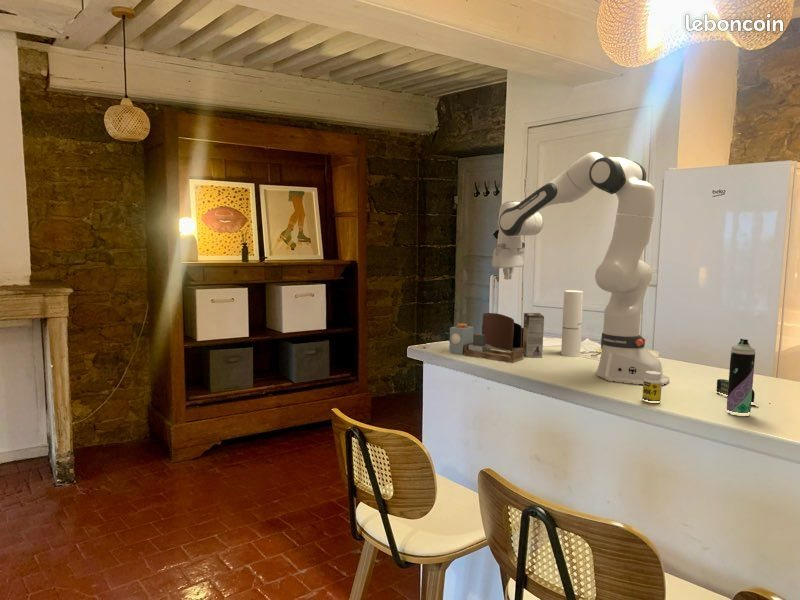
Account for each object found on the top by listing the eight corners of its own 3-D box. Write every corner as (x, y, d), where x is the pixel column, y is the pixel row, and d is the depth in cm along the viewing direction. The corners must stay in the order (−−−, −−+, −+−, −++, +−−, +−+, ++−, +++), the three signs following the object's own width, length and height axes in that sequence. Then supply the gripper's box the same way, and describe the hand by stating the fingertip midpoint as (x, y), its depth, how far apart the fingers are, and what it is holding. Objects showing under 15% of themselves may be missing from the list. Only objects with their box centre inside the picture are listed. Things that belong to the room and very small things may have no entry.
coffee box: (521, 352, 233) (523, 312, 232) (538, 353, 233) (539, 312, 231) (526, 357, 224) (527, 315, 222) (543, 357, 224) (545, 316, 222)
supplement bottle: (639, 401, 166) (641, 372, 165) (645, 398, 169) (646, 369, 168) (657, 405, 163) (659, 375, 162) (662, 401, 166) (664, 372, 165)
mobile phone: (715, 378, 176) (752, 389, 161) (724, 377, 176) (762, 389, 162) (714, 394, 176) (751, 407, 162) (723, 394, 177) (761, 407, 162)
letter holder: (511, 352, 236) (512, 317, 234) (480, 343, 253) (481, 311, 251) (530, 349, 241) (531, 315, 239) (498, 342, 258) (500, 309, 256)
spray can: (727, 415, 154) (733, 339, 152) (724, 409, 159) (730, 336, 157) (751, 418, 152) (758, 341, 150) (747, 412, 157) (754, 338, 155)
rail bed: (523, 359, 220) (523, 349, 220) (513, 363, 214) (513, 352, 213) (474, 352, 233) (474, 342, 232) (463, 355, 227) (463, 344, 226)
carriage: (489, 352, 227) (490, 334, 227) (482, 354, 223) (482, 336, 222) (476, 350, 231) (476, 332, 230) (468, 352, 226) (468, 334, 226)
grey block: (473, 352, 233) (473, 327, 232) (461, 355, 227) (462, 329, 226) (460, 350, 237) (460, 325, 236) (448, 353, 230) (449, 327, 229)
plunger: (468, 340, 232) (468, 324, 231) (463, 342, 229) (463, 325, 228) (460, 339, 234) (460, 323, 233) (455, 340, 231) (455, 324, 230)
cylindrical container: (584, 355, 230) (587, 291, 227) (571, 357, 226) (575, 292, 223) (569, 352, 236) (572, 290, 233) (557, 354, 232) (560, 290, 229)
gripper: (503, 244, 220) (502, 281, 221) (528, 244, 236) (526, 278, 237) (488, 243, 224) (487, 280, 225) (513, 243, 240) (512, 277, 241)
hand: (507, 279), depth 231 cm, fingers closed
